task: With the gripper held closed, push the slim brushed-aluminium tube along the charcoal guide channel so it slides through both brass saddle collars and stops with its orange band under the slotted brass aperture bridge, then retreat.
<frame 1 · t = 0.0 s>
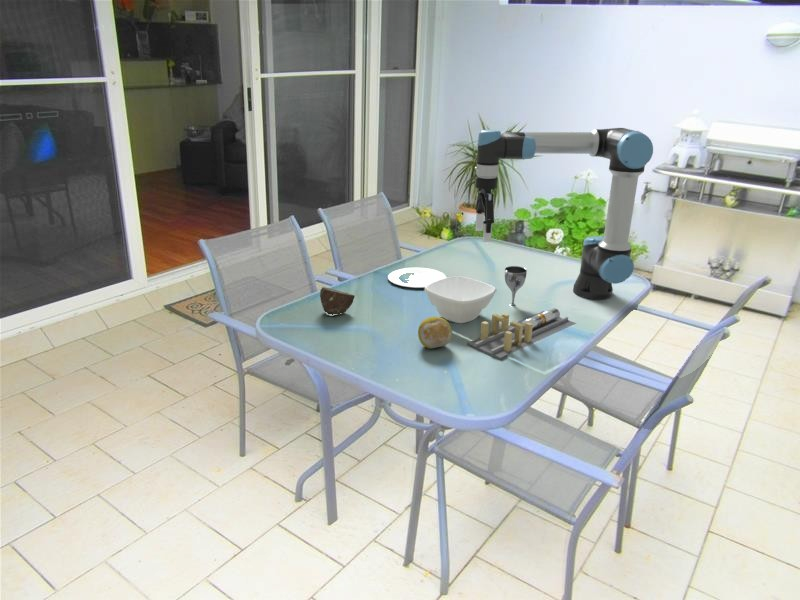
hand: (483, 236, 215), 28 cm above the table, fingers open, 13 cm apart
guide plate: (505, 342, 198), on the table
bowl: (458, 318, 217), on the table
wine glass: (512, 307, 226), on the table
brown coconut half: (334, 314, 219), on the table
tube: (539, 325, 209), point 1 cm above the table, touching guide plate
fruit: (434, 347, 194), on the table
aperture bridge: (505, 342, 198), resting on guide plate
plate: (417, 280, 254), on the table
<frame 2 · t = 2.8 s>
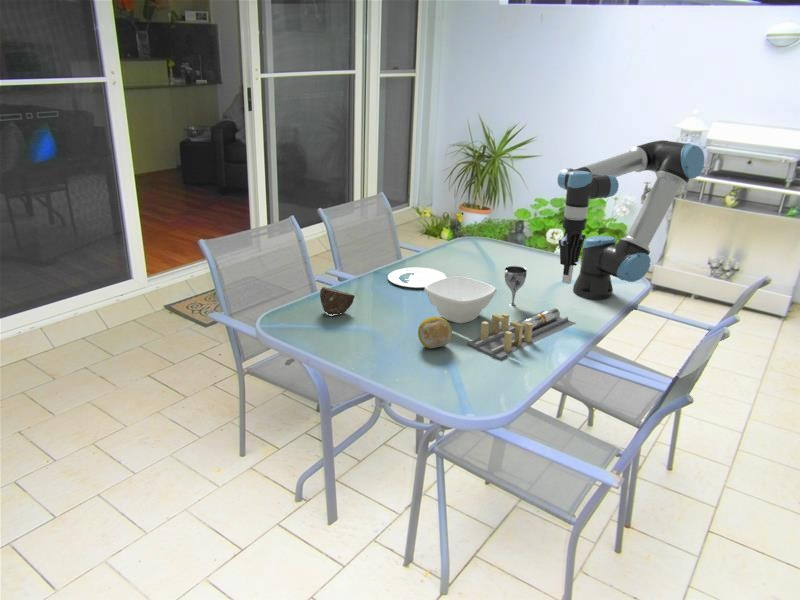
hand: (566, 282, 213), 13 cm above the table, fingers closed
nothing on the table moved.
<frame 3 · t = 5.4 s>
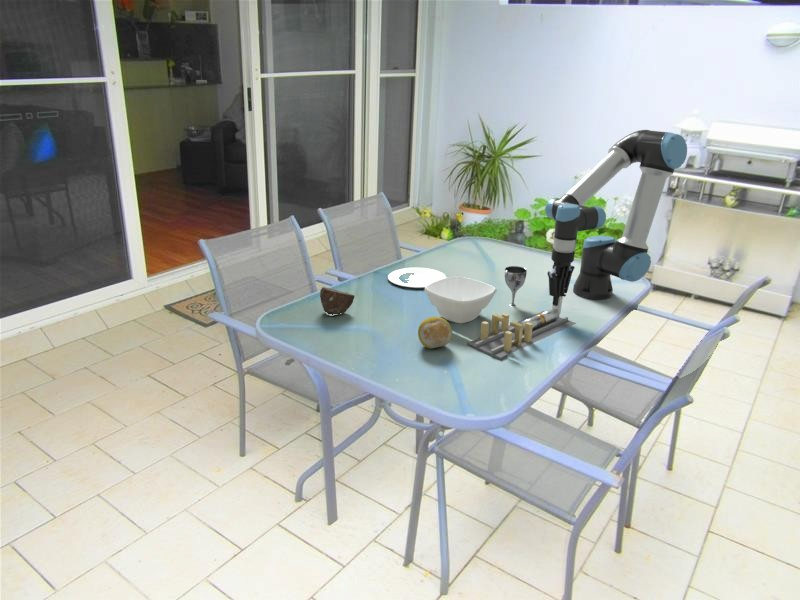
hand: (556, 312, 214), 3 cm above the table, fingers closed
tube: (538, 325, 209), point 1 cm above the table, touching gripper, guide plate
everything else where it was.
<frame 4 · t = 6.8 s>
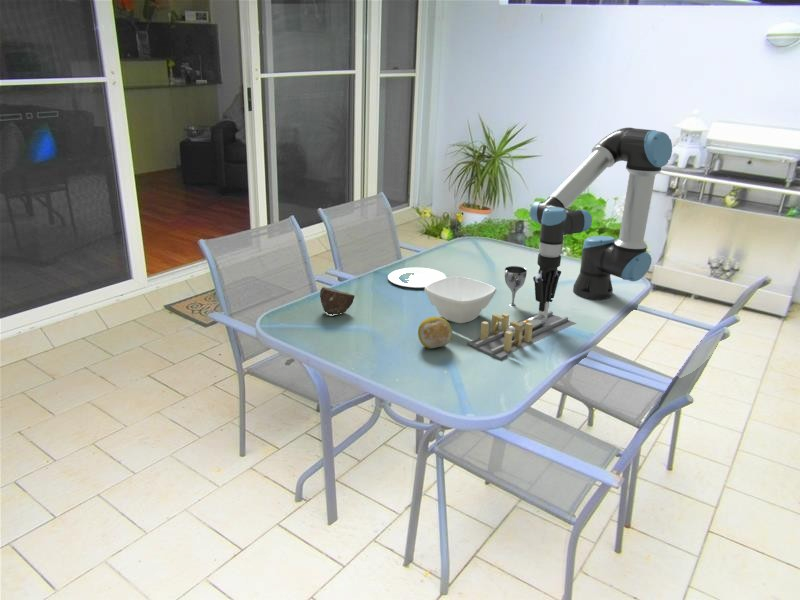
hand: (542, 318, 209), 3 cm above the table, fingers closed
tube: (524, 331, 204), point 1 cm above the table, touching gripper
everything else where it was.
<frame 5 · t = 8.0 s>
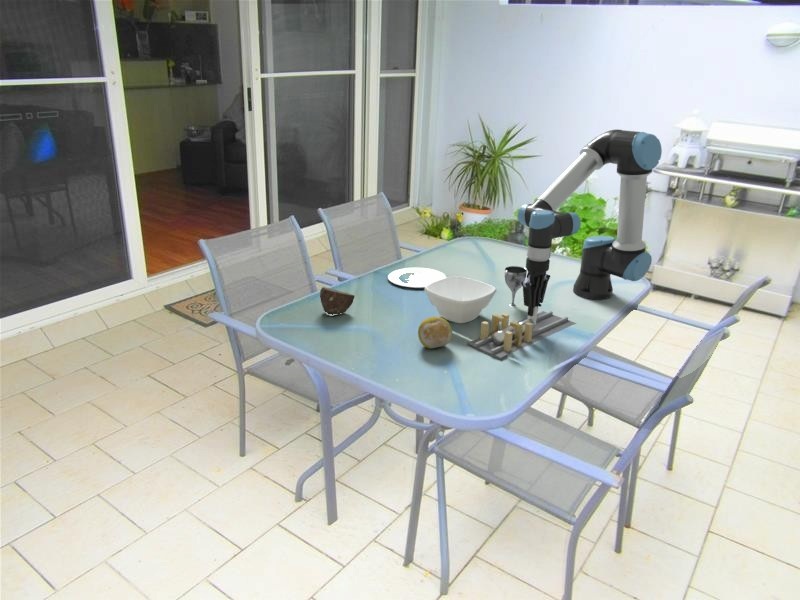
hand: (531, 323, 205), 3 cm above the table, fingers closed
tube: (512, 337, 200), point 1 cm above the table
everything else where it was.
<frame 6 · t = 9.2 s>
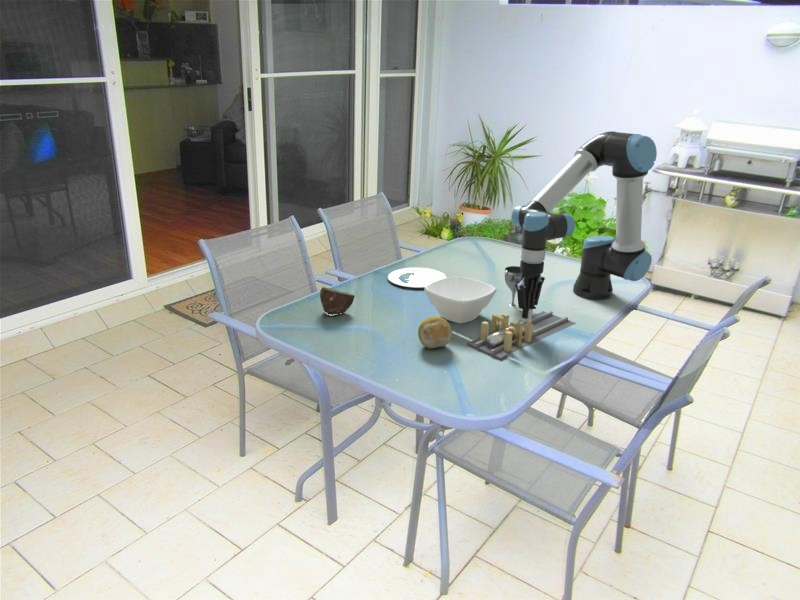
hand: (526, 326, 203), 3 cm above the table, fingers closed
tube: (507, 339, 198), point 1 cm above the table, touching gripper, guide plate
everything else where it was.
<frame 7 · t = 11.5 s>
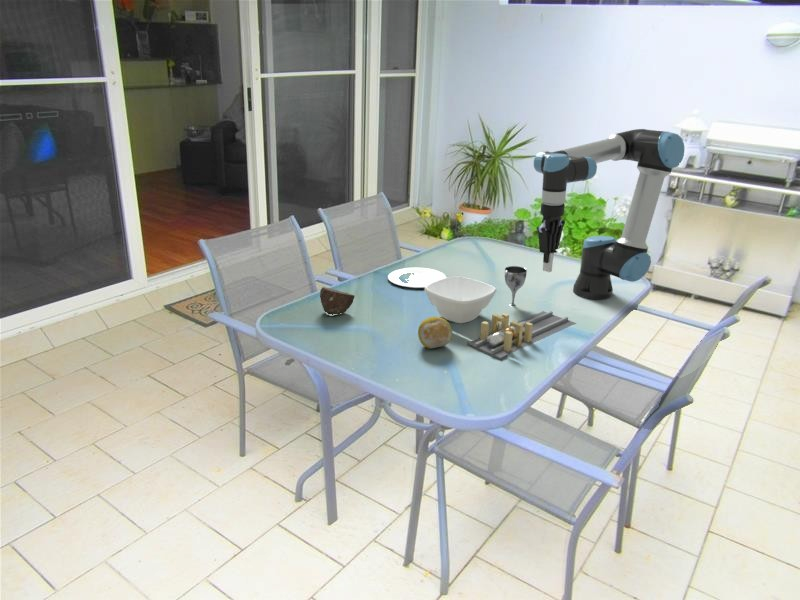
hand: (547, 270, 204), 20 cm above the table, fingers closed
tube: (507, 339, 198), point 1 cm above the table, tilted 6°, touching guide plate
everything else where it was.
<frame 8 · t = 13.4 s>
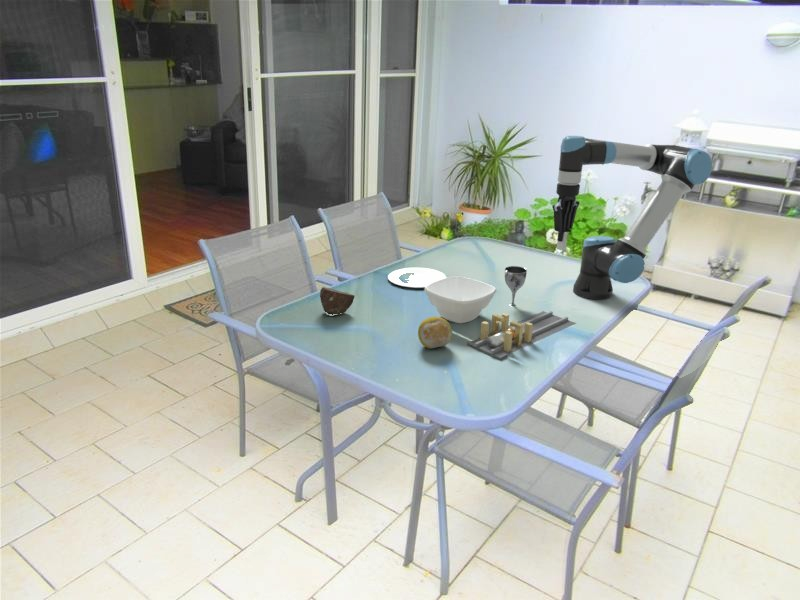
hand: (561, 249, 213), 24 cm above the table, fingers closed
tube: (507, 339, 198), point 1 cm above the table, tilted 25°, touching guide plate
everything else where it was.
at the end: tube 0.9 cm from the aperture bridge (horizontally); tube point 1.0 cm above the table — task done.
